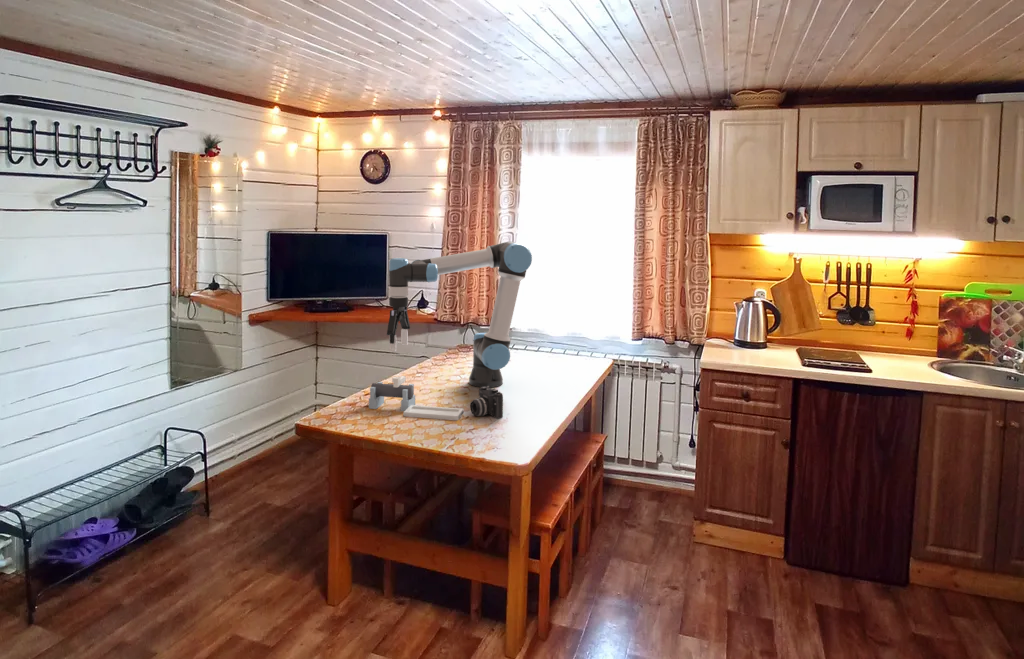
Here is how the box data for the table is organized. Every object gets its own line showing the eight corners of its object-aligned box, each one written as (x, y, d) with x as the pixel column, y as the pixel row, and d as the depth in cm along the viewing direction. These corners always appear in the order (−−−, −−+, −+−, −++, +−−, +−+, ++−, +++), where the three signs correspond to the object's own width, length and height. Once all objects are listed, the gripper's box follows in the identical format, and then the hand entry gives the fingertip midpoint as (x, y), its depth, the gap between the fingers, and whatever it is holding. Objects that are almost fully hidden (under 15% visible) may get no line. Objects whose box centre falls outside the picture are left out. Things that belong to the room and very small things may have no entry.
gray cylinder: (413, 396, 275) (413, 384, 274) (410, 400, 270) (410, 387, 269) (375, 393, 278) (374, 381, 277) (370, 397, 273) (370, 384, 272)
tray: (463, 412, 269) (463, 408, 269) (457, 420, 260) (457, 416, 260) (411, 408, 272) (411, 405, 272) (403, 416, 263) (403, 412, 263)
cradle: (415, 404, 278) (415, 384, 277) (408, 411, 269) (408, 390, 267) (377, 401, 280) (376, 381, 279) (368, 408, 271) (368, 387, 270)
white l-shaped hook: (406, 381, 277) (406, 372, 276) (398, 387, 267) (398, 378, 267) (400, 380, 277) (400, 371, 277) (392, 387, 268) (392, 378, 267)
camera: (462, 411, 271) (463, 386, 269) (486, 407, 277) (487, 383, 275) (481, 421, 259) (481, 395, 258) (506, 417, 265) (506, 392, 264)
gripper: (400, 292, 295) (400, 341, 299) (378, 300, 271) (378, 353, 275) (417, 293, 294) (417, 342, 298) (396, 301, 270) (396, 354, 273)
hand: (398, 347), depth 286 cm, fingers open, 13 cm apart
